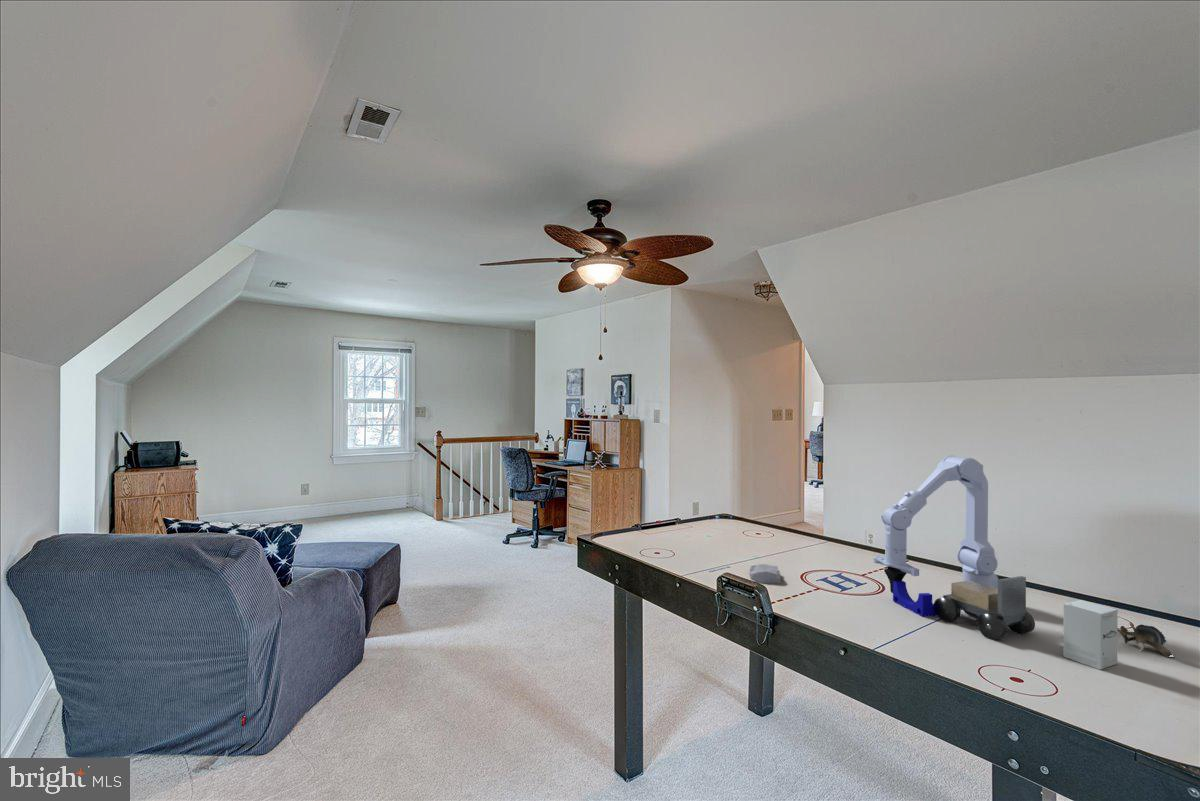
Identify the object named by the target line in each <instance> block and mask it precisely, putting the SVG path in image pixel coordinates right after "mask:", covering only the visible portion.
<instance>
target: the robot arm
mask: <svg viewBox="0 0 1200 801" xmlns="http://www.w3.org/2000/svg"><path fill="white" fill-rule="evenodd" d="M952 481H953V482H954V481H959V482H960V484H962V485H963V486H964V487H965V489H966V490H965V537H964V538H963V539H962V540H961V541H960V542H959V543H960V544H959V548H958V550H957V554H956V556H957V561H958V562H959V564H961V568H962V581H972V582H976V583H979V584H982V585H985V586H989V587H992V588H995V589H998V579H999V576H997V574H996V573H995V572H996V570H997V569H998V565H999V563H998V562H999V561H998V560H997V557H996V554H995V553H996V552H995V548H994V547H993V546H992V545H991V543H990V541H989V540H988V534H989V533H988V532H989V531H988V530H989V529H988V528H989V524H988V522H989V481H988V479H987V477H986V475H985V473H984V465H983V464H982V463H980V462H979V461H978V460H977V459H975V458H971V457H961V456H955V455H947V456H945V457H944V458H942V460H941V461H940V462H939V463H937V466H936V468H935V469H934V470H933V471H932V473H931V474H930V475H929V476H928V477H927V478H926V479H925V480H924V481H923V482H922V483H921V485H920V486H919V487H918V488H917V489H916V490H909V491H905V492H904V493H903V496H902V497H901V499H900V500H899V501H898V502H897V503H893V505H892V507H888V508H886V509H885V510H884V512H883V514H882V515H881V516H880V517H881V521H882V523H883V524H884V529H885V530H884V532H885V533H884V534H885V535H884V540H885V541H884V550H885V551H884V556H880V555H879V556H878V555H877V556H873V563H874V564H879V565H882V566H886V568H884V569H883V570H884V573H885V575H886V576H887V579H888V581H889V585H890V586H889V588H890V589H889V590H890V592H891V594H893V581H903V579H904V578H905V577H906V575H907V574H909V575H911V577H912V576H913V577H919V576H920V569H919V568H916V567H914V566H912V565H910V564H908V563H907V545H908V544H907V542H908V541H907V540H908V539H907V536H908V534H907V533H908V532H907V531H908V530H907V529H908V528H909V527H910V526H911V525H912V519H913V518H914V517H915V516H916V515H917V514H918V513H919V512H920V511H921V510H922V509H923V508H924V507H925V506H926V505H927V503H928V502H927V498H928V497H930V496H931V495H932V494H933V493H934V492H936V491H937V490H938V489H939V488H941V486H943V485H944V484H945V483H947V482H952Z"/></svg>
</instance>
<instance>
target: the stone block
mask: <svg viewBox="0 0 1200 801" xmlns="http://www.w3.org/2000/svg"><path fill="white" fill-rule="evenodd" d="M748 574H749V576H750V579H751V581H753V580H754V581H756V582H755V583H758V582H759V584H771V585H772V584H776V585H780V584H781V571H780V570H779V568H778V565H771V564H763V563H759V564H754V565H751V566H750V568H749V571H748ZM754 581H753V582H754Z"/></svg>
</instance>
